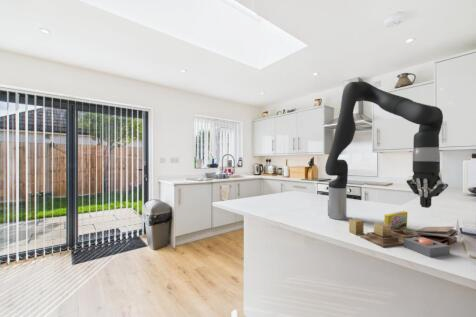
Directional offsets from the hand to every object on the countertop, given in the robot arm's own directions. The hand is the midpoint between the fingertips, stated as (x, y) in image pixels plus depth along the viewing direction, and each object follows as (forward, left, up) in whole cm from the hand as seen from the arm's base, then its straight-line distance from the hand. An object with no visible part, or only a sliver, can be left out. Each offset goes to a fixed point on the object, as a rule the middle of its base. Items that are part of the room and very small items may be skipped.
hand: (425, 207), depth 78 cm
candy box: (-20, +10, -16) cm, 28 cm away
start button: (0, 0, -15) cm, 15 cm away
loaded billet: (-11, -8, -16) cm, 21 cm away
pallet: (-11, -2, -16) cm, 19 cm away
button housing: (0, 0, -16) cm, 16 cm away
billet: (-21, -11, -16) cm, 29 cm away
